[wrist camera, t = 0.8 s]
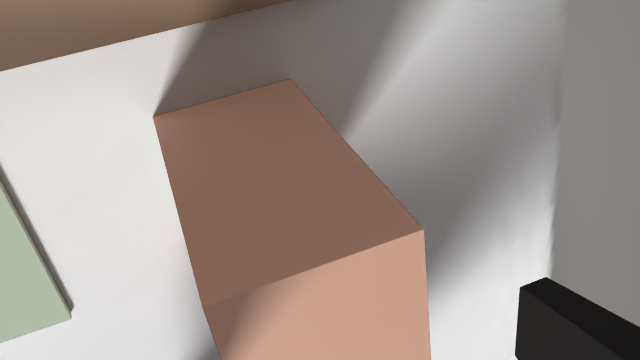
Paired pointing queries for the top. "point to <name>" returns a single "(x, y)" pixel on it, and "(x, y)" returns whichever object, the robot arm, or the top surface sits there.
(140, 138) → the top surface
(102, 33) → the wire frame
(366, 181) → the terracotta block
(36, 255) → the mat
